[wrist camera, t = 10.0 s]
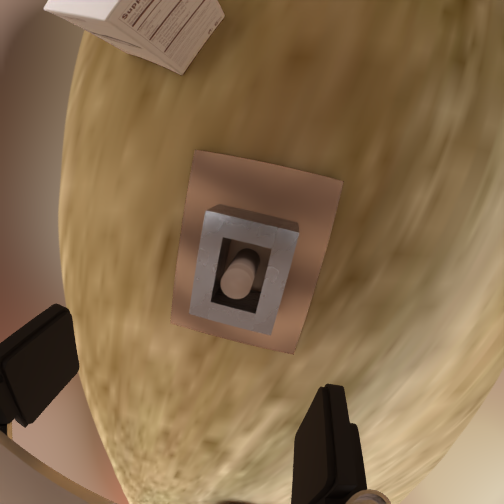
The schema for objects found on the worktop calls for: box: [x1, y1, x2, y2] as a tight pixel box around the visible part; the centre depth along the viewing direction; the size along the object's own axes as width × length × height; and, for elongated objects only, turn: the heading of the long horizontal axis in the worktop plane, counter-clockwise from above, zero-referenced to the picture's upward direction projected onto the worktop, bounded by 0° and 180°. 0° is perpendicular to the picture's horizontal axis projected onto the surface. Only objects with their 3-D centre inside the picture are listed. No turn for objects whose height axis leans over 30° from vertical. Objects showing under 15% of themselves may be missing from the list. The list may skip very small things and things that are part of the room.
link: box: [189, 204, 299, 336], centre depth 23 cm, size 8×6×4 cm
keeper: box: [171, 150, 344, 355], centre depth 22 cm, size 16×12×6 cm
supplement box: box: [44, 0, 225, 75], centre depth 15 cm, size 7×7×13 cm
